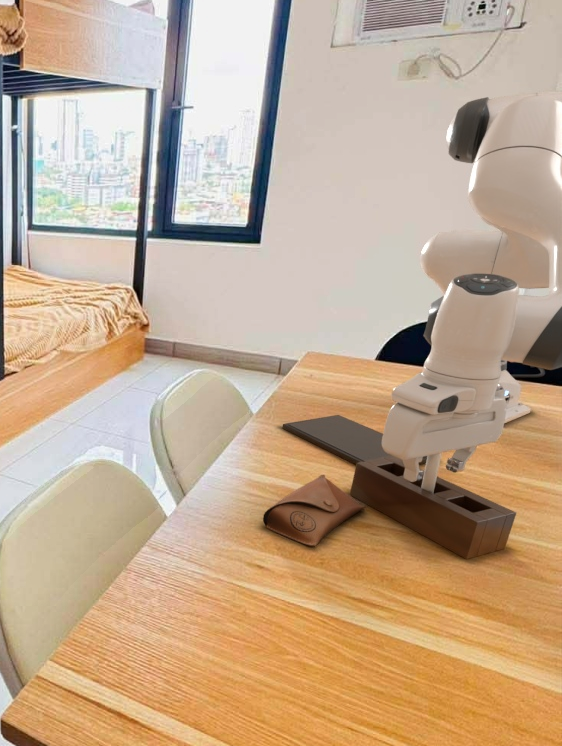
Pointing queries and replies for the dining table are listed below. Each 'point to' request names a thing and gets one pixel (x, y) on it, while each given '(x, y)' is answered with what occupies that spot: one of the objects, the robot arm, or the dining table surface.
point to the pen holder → (434, 508)
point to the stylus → (431, 472)
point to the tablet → (342, 438)
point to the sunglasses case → (311, 512)
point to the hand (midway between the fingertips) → (433, 475)
